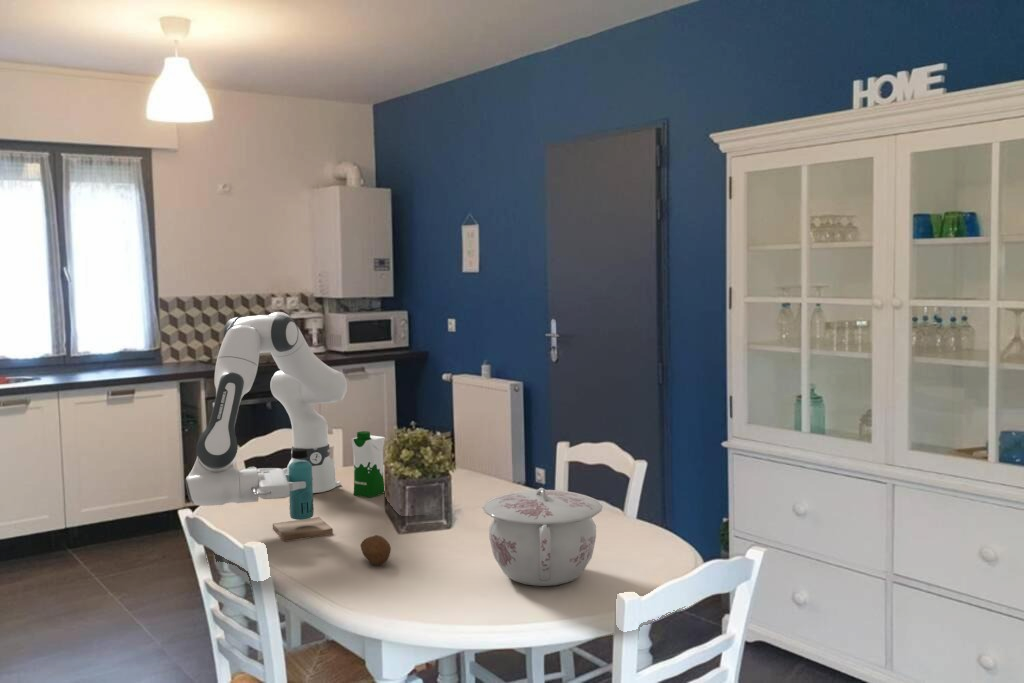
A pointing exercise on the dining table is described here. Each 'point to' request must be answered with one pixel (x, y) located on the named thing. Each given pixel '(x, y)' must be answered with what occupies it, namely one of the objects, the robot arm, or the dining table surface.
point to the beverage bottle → (302, 497)
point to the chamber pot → (542, 534)
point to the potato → (376, 549)
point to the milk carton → (368, 464)
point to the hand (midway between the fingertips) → (304, 480)
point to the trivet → (302, 529)
